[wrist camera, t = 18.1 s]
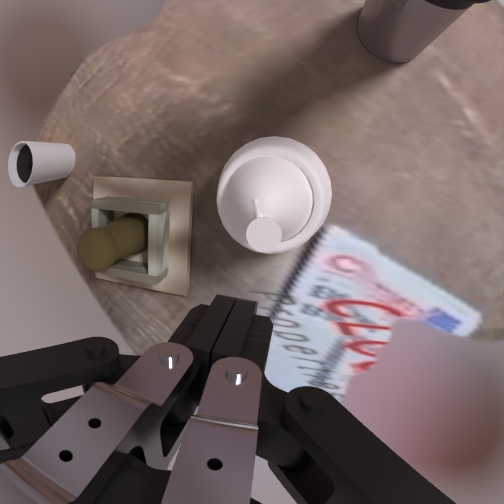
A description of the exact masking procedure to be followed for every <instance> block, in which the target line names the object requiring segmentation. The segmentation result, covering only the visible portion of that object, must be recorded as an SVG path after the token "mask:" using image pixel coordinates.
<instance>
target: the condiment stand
mask: <svg viewBox="0 0 504 504" xmlns="http://www.w3.org/2000/svg"><path fill="white" fill-rule="evenodd" d="M194 183H195V182H194V181H181V180H166V179H150V178H132V177H108V176H96V177H94V187H93V199H92V228H104V227H105V226H107V225H109V224H110V223H112V222H113V221H115V220H117V219H118V218H120V217H121V216H123V215H125V214H126V213H130V212H133V213H139V214H141V215H143V216H144V217H145V218H146V219H147V220H148V221H149V224H148V249H147V250H145V251H144V252H142V253H138V254H135V255H131V256H128V257H124V258H121V259H118V260H115V262H114V263H113V265H112V266H111V267H109V268H108V269H106V270H104V271H99V272H96V271H94V272H96V278H100V279H105V280H109V281H114V282H119V283H123V284H128V285H133V286H137V287H142V288H147V289H152V290H157V291H162V292H167V293H172V294H177V295H183V296H187V295H188V294H189V282H190V253H191V232H192V213H193V198H194Z"/></svg>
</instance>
